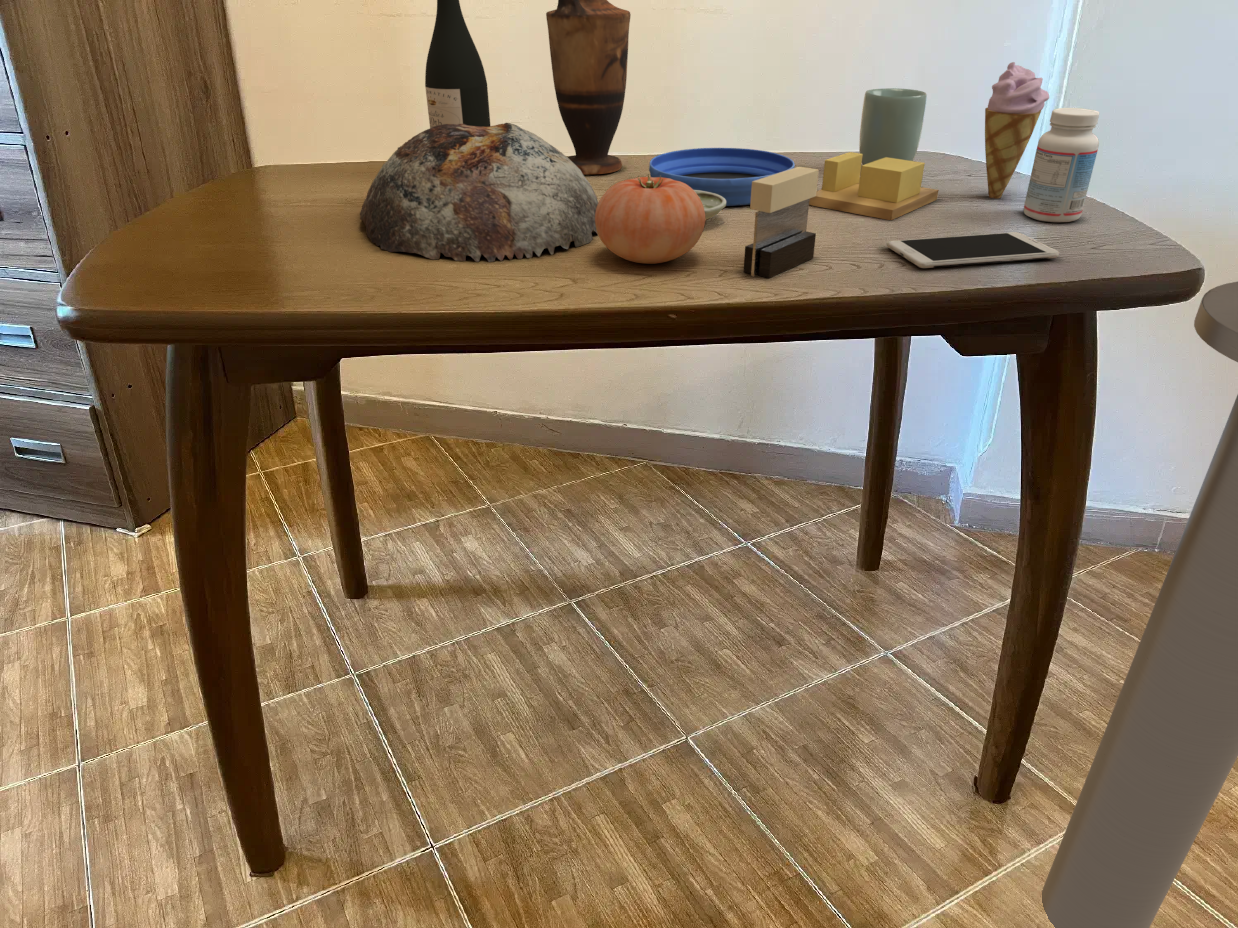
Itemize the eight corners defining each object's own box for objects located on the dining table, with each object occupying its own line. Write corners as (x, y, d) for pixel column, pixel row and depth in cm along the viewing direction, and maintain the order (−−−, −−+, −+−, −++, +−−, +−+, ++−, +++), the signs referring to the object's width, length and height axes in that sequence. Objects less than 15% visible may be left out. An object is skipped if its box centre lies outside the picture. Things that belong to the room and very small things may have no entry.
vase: (592, 157, 129) (586, -83, 113) (646, 168, 122) (648, -85, 107) (536, 169, 122) (523, -84, 107) (591, 181, 115) (585, -87, 100)
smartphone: (884, 240, 89) (1018, 231, 91) (883, 246, 89) (1016, 237, 92) (920, 263, 83) (1062, 252, 85) (919, 269, 83) (1061, 258, 85)
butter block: (920, 193, 104) (925, 162, 102) (896, 203, 100) (901, 171, 98) (881, 186, 107) (885, 157, 105) (857, 196, 103) (861, 165, 101)
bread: (561, 178, 117) (557, 98, 112) (643, 245, 91) (644, 145, 86) (351, 195, 110) (337, 111, 105) (375, 275, 83) (358, 167, 78)
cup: (895, 163, 123) (906, 87, 118) (925, 175, 117) (939, 95, 112) (845, 167, 122) (854, 90, 116) (873, 179, 115) (884, 98, 110)
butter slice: (859, 183, 109) (862, 153, 107) (834, 192, 105) (838, 162, 103) (846, 181, 110) (849, 152, 108) (821, 190, 106) (824, 160, 104)
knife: (812, 256, 87) (821, 168, 83) (761, 279, 82) (769, 186, 77) (793, 252, 89) (801, 165, 84) (742, 274, 83) (748, 182, 78)
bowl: (722, 168, 122) (723, 141, 120) (821, 192, 109) (825, 163, 108) (620, 188, 112) (619, 159, 110) (716, 217, 100) (717, 186, 98)
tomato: (726, 262, 86) (730, 179, 82) (636, 283, 81) (636, 196, 77) (660, 236, 94) (662, 159, 90) (575, 254, 88) (572, 173, 84)
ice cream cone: (989, 188, 111) (1016, 58, 103) (1035, 197, 107) (1067, 63, 99) (959, 196, 107) (984, 62, 100) (1005, 206, 103) (1035, 67, 95)
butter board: (937, 200, 106) (938, 189, 105) (891, 220, 98) (892, 209, 98) (855, 186, 112) (856, 176, 112) (806, 204, 105) (807, 194, 104)
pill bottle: (1066, 209, 102) (1092, 106, 96) (1089, 224, 96) (1118, 115, 91) (1013, 209, 102) (1036, 106, 96) (1033, 224, 97) (1059, 116, 91)
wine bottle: (455, 184, 115) (428, -85, 99) (424, 174, 120) (393, -83, 104) (505, 174, 119) (486, -85, 104) (473, 165, 124) (450, -83, 109)
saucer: (671, 237, 93) (672, 214, 92) (623, 217, 100) (623, 195, 99) (742, 223, 98) (744, 202, 96) (692, 205, 105) (692, 184, 103)
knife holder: (813, 258, 87) (816, 233, 86) (768, 278, 82) (770, 252, 80) (788, 252, 88) (790, 228, 87) (743, 272, 83) (744, 246, 82)
